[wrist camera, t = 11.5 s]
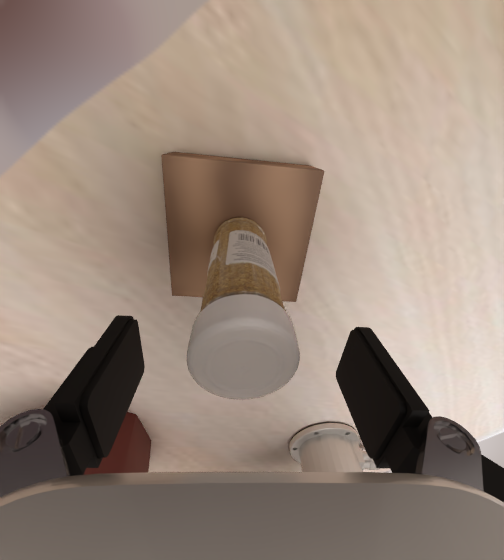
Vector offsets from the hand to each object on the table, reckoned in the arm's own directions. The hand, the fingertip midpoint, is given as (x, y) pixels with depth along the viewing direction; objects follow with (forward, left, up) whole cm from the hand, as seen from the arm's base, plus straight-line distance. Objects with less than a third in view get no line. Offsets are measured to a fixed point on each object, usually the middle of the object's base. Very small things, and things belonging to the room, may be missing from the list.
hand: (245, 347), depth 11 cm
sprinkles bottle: (0, 0, -12) cm, 12 cm away
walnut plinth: (0, 0, -16) cm, 16 cm away
